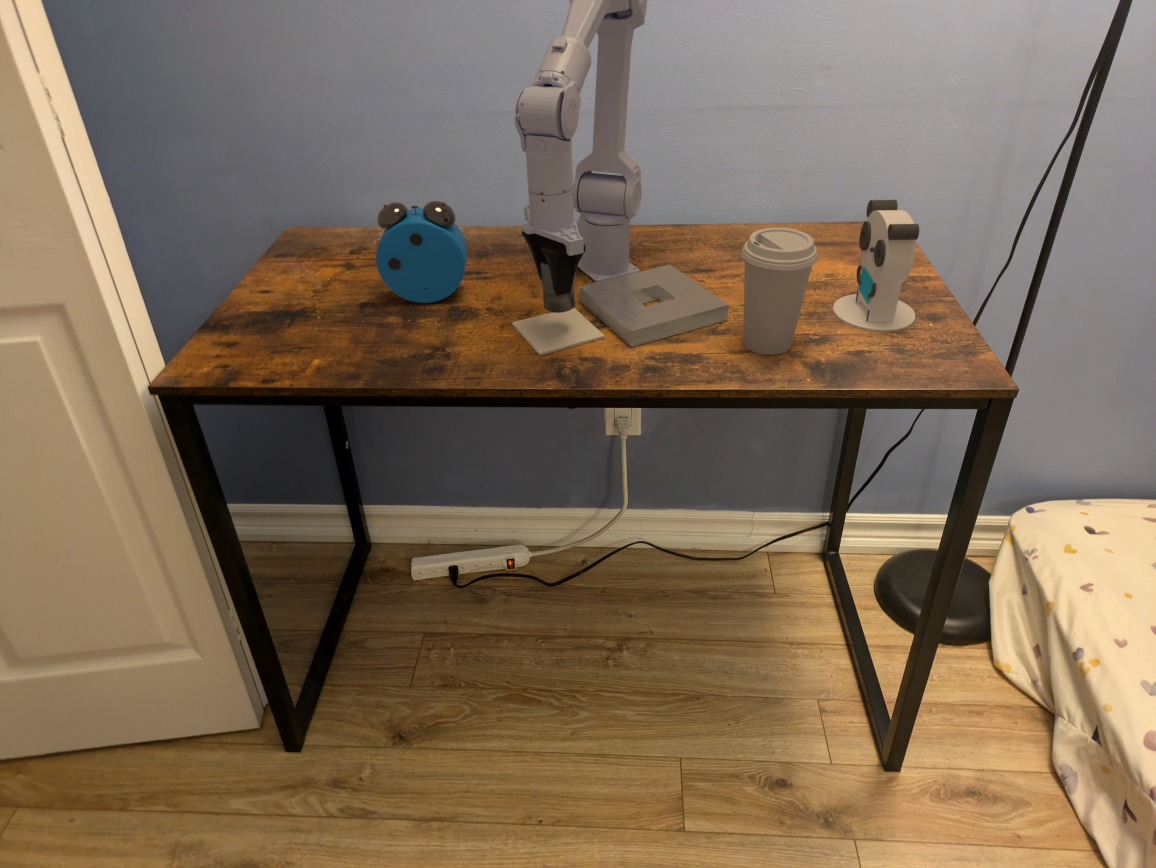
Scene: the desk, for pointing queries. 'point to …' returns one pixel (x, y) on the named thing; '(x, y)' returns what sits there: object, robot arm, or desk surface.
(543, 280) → the dark metal cylinder
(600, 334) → the rubber pad
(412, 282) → the alarm clock
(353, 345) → the desk surface
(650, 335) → the housing block
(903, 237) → the panda figurine
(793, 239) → the coffee cup
